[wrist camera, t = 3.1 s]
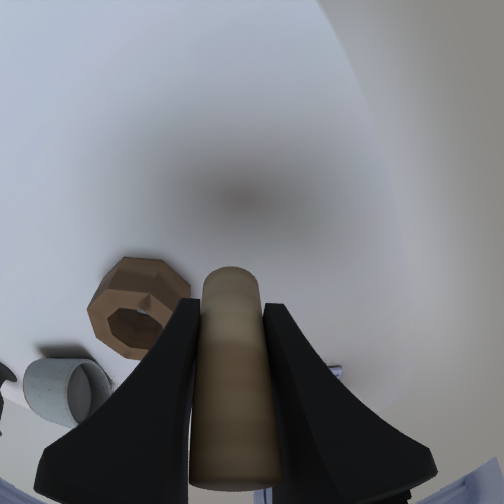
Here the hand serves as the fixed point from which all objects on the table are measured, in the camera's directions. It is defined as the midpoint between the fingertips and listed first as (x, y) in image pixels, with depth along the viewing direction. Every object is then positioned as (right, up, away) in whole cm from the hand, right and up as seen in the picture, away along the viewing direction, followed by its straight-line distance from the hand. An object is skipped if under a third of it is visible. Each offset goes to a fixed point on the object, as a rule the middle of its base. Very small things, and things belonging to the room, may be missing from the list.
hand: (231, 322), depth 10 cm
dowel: (0, +1, +2) cm, 2 cm away
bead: (-7, -1, +10) cm, 12 cm away
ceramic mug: (-18, -11, +16) cm, 26 cm away
